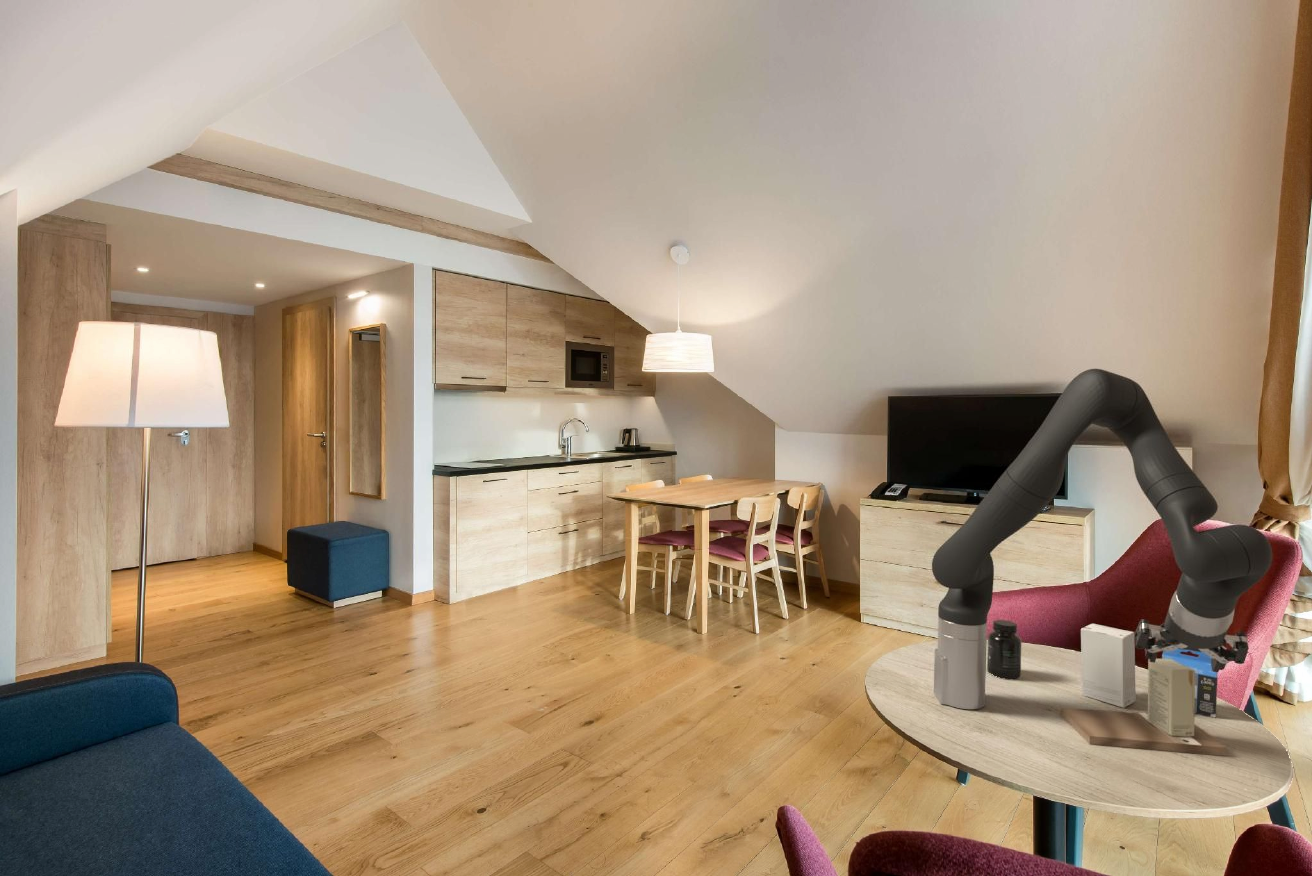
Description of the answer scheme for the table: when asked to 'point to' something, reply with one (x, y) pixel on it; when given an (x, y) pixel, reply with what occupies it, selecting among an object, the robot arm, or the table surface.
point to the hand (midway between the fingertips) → (1182, 662)
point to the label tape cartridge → (1199, 679)
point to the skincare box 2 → (1171, 697)
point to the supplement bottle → (1004, 650)
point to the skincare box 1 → (1108, 664)
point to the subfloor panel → (1136, 732)
